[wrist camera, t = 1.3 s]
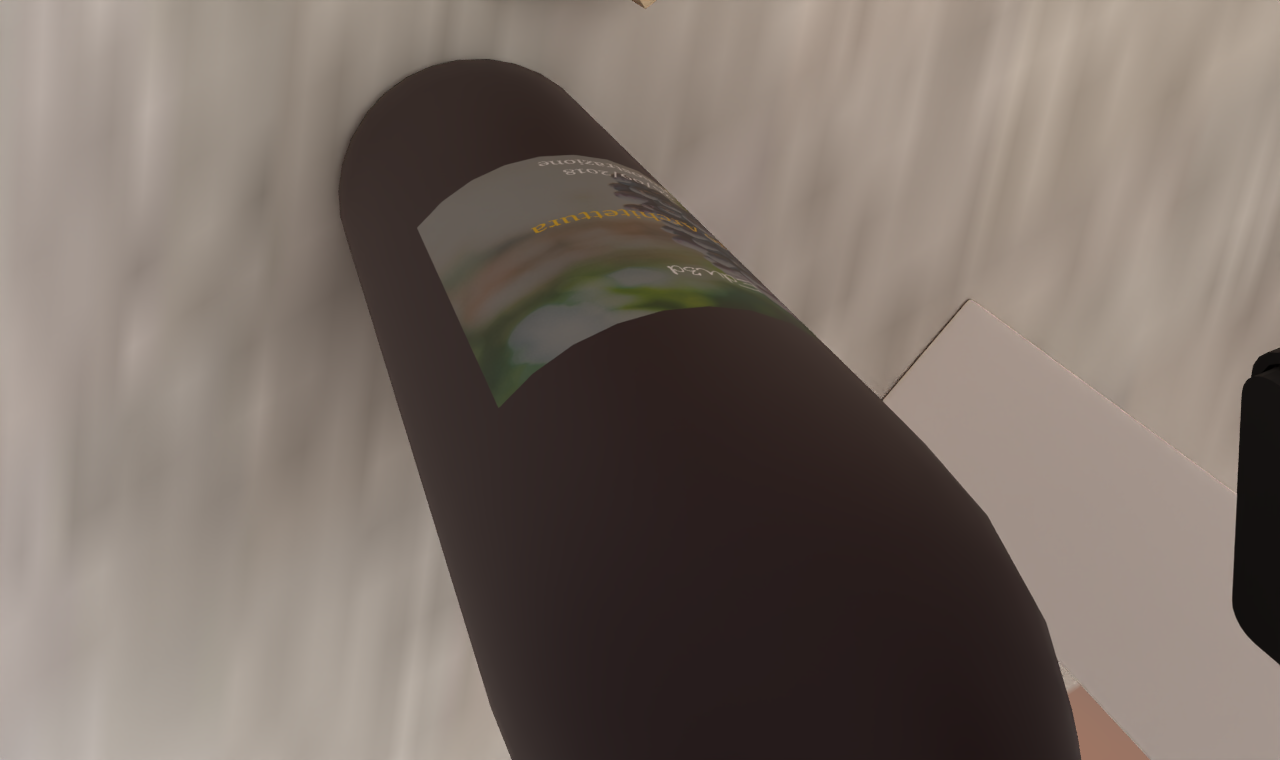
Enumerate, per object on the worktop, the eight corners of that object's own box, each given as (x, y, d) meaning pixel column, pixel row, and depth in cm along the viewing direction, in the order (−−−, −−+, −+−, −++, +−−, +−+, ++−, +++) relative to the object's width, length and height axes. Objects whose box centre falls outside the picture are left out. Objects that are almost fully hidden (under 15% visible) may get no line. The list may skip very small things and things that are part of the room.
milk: (847, 435, 41) (1391, 1032, 22) (970, 292, 40) (1651, 796, 21) (957, 510, 44) (1516, 1090, 25) (1074, 380, 43) (1748, 886, 24)
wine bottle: (649, 158, 34) (1985, 1420, 9) (492, 352, 35) (1264, 1953, 10) (448, -7, 30) (1746, 1344, 5) (279, 216, 31) (647, 2206, 6)
